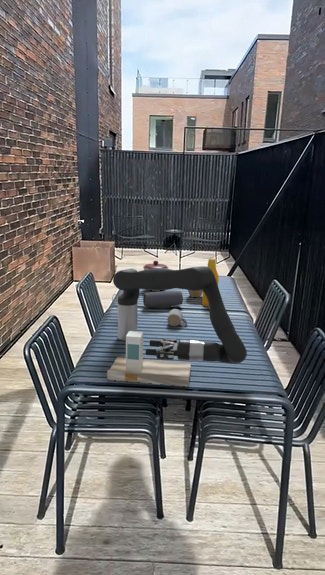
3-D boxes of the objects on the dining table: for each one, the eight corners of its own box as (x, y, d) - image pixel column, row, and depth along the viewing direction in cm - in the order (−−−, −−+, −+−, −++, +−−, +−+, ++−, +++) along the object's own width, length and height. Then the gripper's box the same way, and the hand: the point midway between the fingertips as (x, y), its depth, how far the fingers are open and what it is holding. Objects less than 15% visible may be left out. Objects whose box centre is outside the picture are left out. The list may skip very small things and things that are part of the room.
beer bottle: (212, 307, 238) (215, 261, 231) (199, 304, 243) (201, 259, 236) (219, 304, 245) (222, 259, 238) (206, 301, 250) (209, 257, 243)
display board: (117, 362, 159) (117, 354, 158) (190, 368, 155) (191, 360, 154) (107, 380, 144) (107, 371, 143) (188, 387, 140) (188, 378, 139)
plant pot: (191, 292, 273) (192, 270, 269) (210, 296, 264) (211, 273, 260) (179, 296, 261) (180, 273, 257) (198, 300, 252) (200, 276, 249)
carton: (128, 364, 151) (129, 331, 148) (142, 366, 151) (143, 331, 147) (125, 371, 146) (125, 336, 143) (140, 372, 145) (140, 337, 142)
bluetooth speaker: (177, 304, 244) (178, 288, 241) (183, 308, 235) (183, 292, 233) (142, 306, 236) (142, 290, 234) (146, 311, 228) (147, 294, 226)
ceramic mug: (166, 326, 202) (167, 312, 201) (168, 321, 210) (169, 308, 208) (186, 328, 201) (187, 314, 199) (187, 323, 209) (188, 309, 207)
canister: (158, 294, 265) (159, 263, 260) (137, 290, 275) (137, 260, 270) (172, 289, 280) (173, 260, 275) (151, 285, 290) (152, 257, 285)
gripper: (192, 334, 149) (151, 331, 151) (190, 348, 136) (144, 345, 138) (191, 352, 151) (150, 349, 153) (189, 368, 137) (144, 364, 139)
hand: (147, 347), depth 145 cm, fingers open, 8 cm apart
